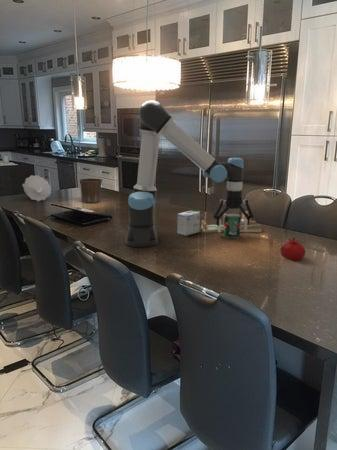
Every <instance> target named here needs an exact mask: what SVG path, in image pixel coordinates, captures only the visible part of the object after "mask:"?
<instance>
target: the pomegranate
mask: <svg viewBox="0 0 337 450" xmlns="http://www.w3.org/2000/svg"><path fill="white" fill-rule="evenodd" d="M301 243H302V241H300V240H299V241H298V239H296V238H295V237H294V236H292V238H291V239H288V240H287V241H285V242H284V244H282V246H281V247H280V255H281V256H282V257H283V258H284V259H286V260H289V261H293V262H296V261H301V260H302V259H304V257H305V256H306V255H305V254H306V248H305V247H304V245H302V244H301Z"/></svg>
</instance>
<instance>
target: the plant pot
mask: <svg viewBox="0 0 337 450" xmlns="http://www.w3.org/2000/svg"><path fill="white" fill-rule="evenodd" d="M78 182H79V186H80V187H81V196H82V197H81V198H82V202H83V203H85V204H89V203H90V204H97V203H99V202H101V188H102V182H103V179H101V178H81V179H79V180H78Z"/></svg>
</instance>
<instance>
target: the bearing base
mask: <svg viewBox="0 0 337 450" xmlns="http://www.w3.org/2000/svg"><path fill="white" fill-rule="evenodd" d="M226 214H227V212H225V213H224V215H223V216H222V224H221V232H220V233H222V234H224V227H225V215H226ZM201 230H202V231H203V233H204V234H206V233H207V234H210V233H211V234H215V233H216V234H217V233H219V232H218V226H217V225H216V224H207V223H206V221H205V220H204V219H203V220H201ZM220 233H219V234H220ZM240 233H262V225H261V224H257V221H255V220H251V225H247V232H245V231H244V225H240Z"/></svg>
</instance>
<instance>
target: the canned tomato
mask: <svg viewBox="0 0 337 450" xmlns="http://www.w3.org/2000/svg"><path fill="white" fill-rule="evenodd" d="M241 219H242V214H238V213H226V215H225V227H224V233H223V236H224V237H225V238H227V239H239V238H240V236H241V235H240V233H241V232H240V223H241Z"/></svg>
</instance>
